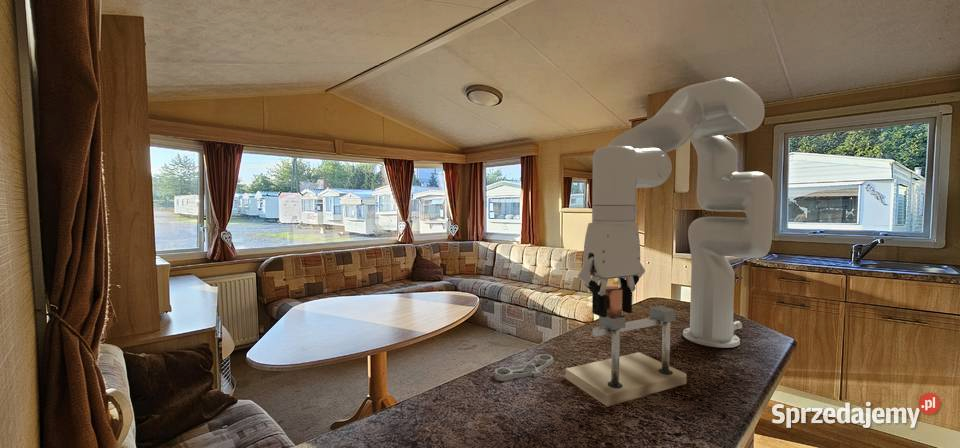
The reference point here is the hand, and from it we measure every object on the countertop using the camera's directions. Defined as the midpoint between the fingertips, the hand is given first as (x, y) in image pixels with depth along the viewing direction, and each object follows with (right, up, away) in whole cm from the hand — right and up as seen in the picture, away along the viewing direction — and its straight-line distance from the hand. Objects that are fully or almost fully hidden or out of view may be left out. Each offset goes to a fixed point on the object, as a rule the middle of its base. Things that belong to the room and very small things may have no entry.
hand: (612, 312), depth 72 cm
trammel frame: (+5, -13, +3) cm, 15 cm away
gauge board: (+4, -15, +6) cm, 17 cm away
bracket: (-15, -16, +11) cm, 24 cm away
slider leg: (0, -13, +1) cm, 13 cm away
